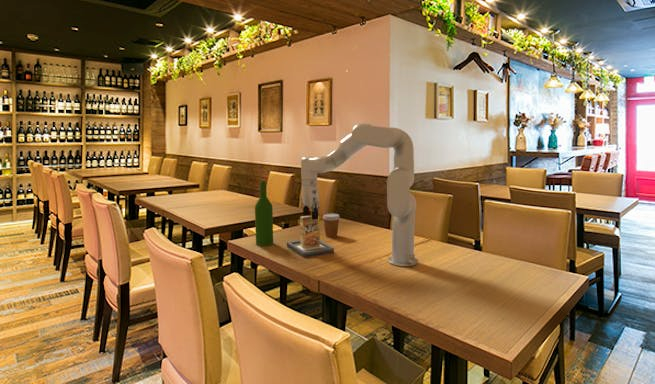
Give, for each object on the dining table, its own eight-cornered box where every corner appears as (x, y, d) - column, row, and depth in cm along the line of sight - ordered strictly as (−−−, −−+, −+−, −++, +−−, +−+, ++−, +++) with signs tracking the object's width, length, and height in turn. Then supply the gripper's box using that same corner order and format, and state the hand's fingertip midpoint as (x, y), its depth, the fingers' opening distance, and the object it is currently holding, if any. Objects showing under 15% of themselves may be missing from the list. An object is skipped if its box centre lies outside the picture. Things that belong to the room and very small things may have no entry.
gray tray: (333, 252, 194) (333, 247, 194) (303, 257, 187) (303, 252, 186) (315, 242, 212) (315, 238, 211) (287, 246, 204) (287, 242, 204)
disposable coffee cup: (339, 238, 220) (340, 216, 219) (322, 238, 221) (322, 216, 219) (339, 234, 230) (339, 213, 228) (323, 233, 230) (323, 213, 228)
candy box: (302, 248, 195) (302, 217, 193) (300, 246, 199) (299, 215, 197) (319, 246, 199) (319, 216, 196) (317, 244, 202) (316, 214, 200)
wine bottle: (275, 241, 214) (273, 180, 209) (271, 246, 205) (269, 183, 200) (258, 241, 215) (256, 180, 210) (253, 246, 206) (252, 182, 201)
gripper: (324, 183, 188) (325, 219, 191) (308, 180, 203) (309, 214, 206) (310, 185, 185) (311, 221, 187) (295, 181, 200) (296, 215, 202)
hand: (310, 217), depth 196 cm, fingers open, 9 cm apart
